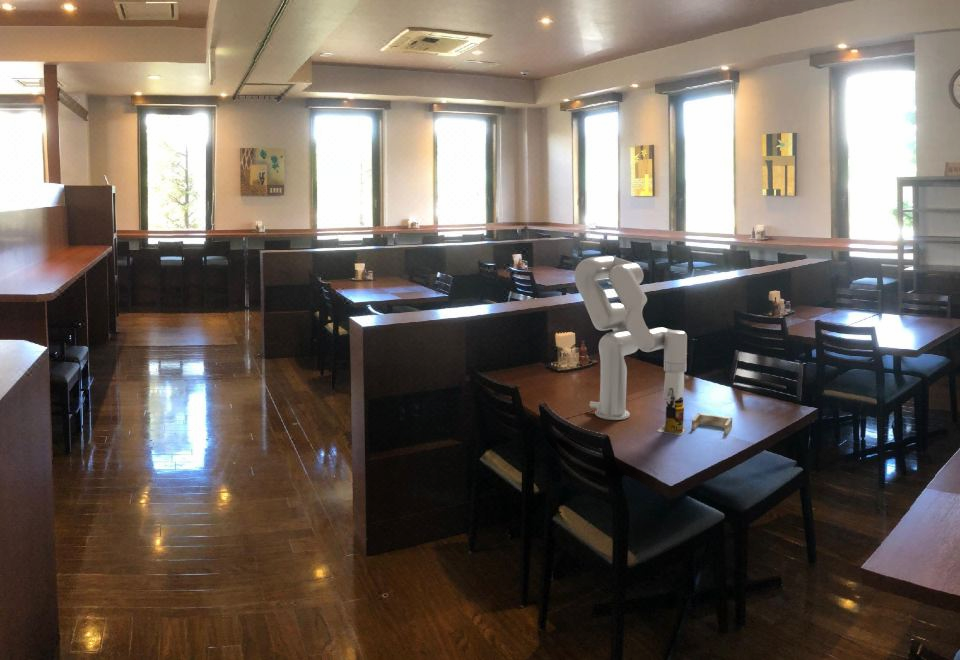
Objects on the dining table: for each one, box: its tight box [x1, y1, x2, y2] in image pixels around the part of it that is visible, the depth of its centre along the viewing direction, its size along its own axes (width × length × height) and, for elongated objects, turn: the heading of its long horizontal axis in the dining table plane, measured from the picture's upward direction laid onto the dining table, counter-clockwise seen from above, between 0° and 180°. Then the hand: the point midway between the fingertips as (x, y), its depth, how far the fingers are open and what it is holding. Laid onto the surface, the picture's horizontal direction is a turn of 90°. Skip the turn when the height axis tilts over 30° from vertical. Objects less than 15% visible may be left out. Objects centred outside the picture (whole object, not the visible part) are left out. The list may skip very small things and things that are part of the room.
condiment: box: [656, 397, 687, 436], centre depth 265 cm, size 7×8×12 cm
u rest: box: [691, 412, 733, 436], centre depth 268 cm, size 12×9×4 cm
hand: (674, 414), depth 265 cm, fingers open, 9 cm apart
